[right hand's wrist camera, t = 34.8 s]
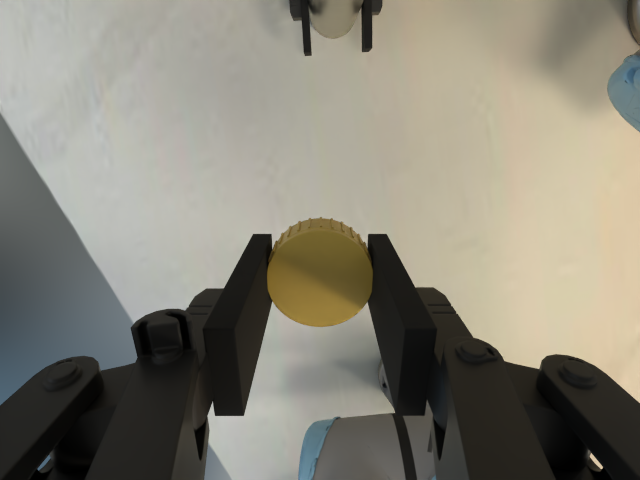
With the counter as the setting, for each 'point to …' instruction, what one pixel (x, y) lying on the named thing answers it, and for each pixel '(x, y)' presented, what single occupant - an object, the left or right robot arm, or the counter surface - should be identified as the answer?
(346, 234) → the cap
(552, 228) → the counter surface
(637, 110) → the left robot arm
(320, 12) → the bottle
